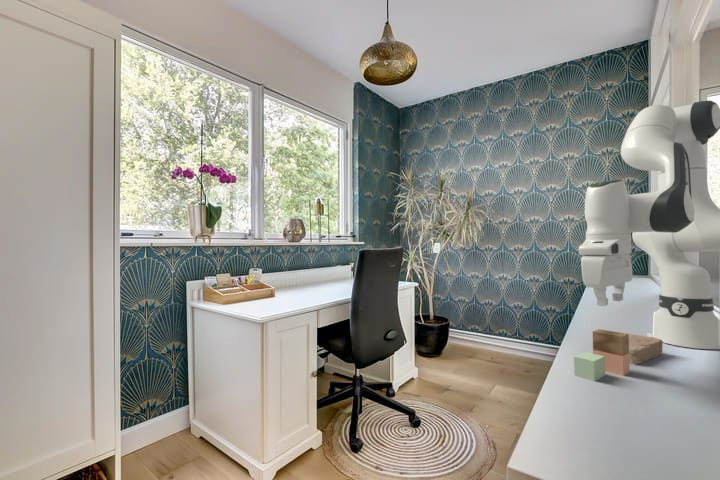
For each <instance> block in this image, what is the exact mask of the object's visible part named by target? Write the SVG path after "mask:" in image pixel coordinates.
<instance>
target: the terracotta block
mask: <svg viewBox="0 0 720 480" xmlns="http://www.w3.org/2000/svg"><path fill="white" fill-rule="evenodd" d="M592 353H593V354H597V355H602V356H605V373H607V372H608V373H610V374H614V375H619V376H623V377H624V376H626V375H627V374H629V373H630V371H631V370H630V369H631V368H630V365H631V364H630V363H629V353H628V354H626V355H624V356H620V355H615V354H610V353H606V352H601V351H596V350H593V349H592Z"/></svg>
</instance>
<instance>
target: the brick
mask: <svg viewBox="0 0 720 480" xmlns="http://www.w3.org/2000/svg"><path fill="white" fill-rule="evenodd" d="M627 334H628V335H629V363H630V365H632V364H634V366H637V365H641V364H642V363H644V362H643V361H645V362H647V361H650V360H651V359H655V358H658V357H659V356H660V355H662V353H663V344H664V342H663V341H662V340H661V339H658V338H654V337H648V336H647V335H646V336H645V335H639V334H632V333H627ZM657 356H658V357H657ZM649 359H650V360H649ZM636 364H637V365H636Z"/></svg>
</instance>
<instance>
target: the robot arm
mask: <svg viewBox="0 0 720 480" xmlns="http://www.w3.org/2000/svg"><path fill="white" fill-rule="evenodd" d="M719 130H720V107H719V105H718V104H717V102H715V101H712V100H702V101H701V100H700V101H695V102H693V103H691V104H686V105H685V104H684V105H680V106H675V107H670V106H668V105H664V104H655V105H650V106H647V107H645V108H643V109H642V110H640V111H638V112H637V114H636V115H635V116H634V118H633V119H632V121H631V122H630V123H628V124H627V126H626V127H624V130H623V131H622V142H621V146H620V155H621V158H622V160H623V162H625V164H627V165H628V166H630V167H631V168H633V169H636V170H640V171H646V172H647V171H649V172H653V171H654V172H656V175H657V176H656V179H657V180H656V181H657V190H655V191H649V192H641V193H633V194H629V193H628V189H627V185H626V182H625V180H623V179H611V180H606V181H599V182H594V183H592V184H590V185H589V186H588V187H587V188H586V191H585V197H584V198H585V199H584V218H585V221H586V230H585V231H586V232H585V240H584V242H583V243H582V244H580V245H579V247H578V254H579V255H580V256H581V259H580V261H581V262H580V264H581V265H580V267H581V275H582V276H581V277H582V282H583V284H584V286H585V287H586V288H590V289H591V288H593V294H594V296H595V298H596V305H597V306H598V307H606V306H608V305H609V298H608V297H607V293H606V292H607V288H608V287H613V293H611V294H612V295H611V297H612V301H614V302H622V301H624V293H625V287H626V283H628V282H632V280H633V274H634V273H633V265H632V258H631V254H632V253H633V251H632V241H633V243H634V245H635V246H636V247H637V248H638V249H640V250H641V251H643V252H645V253H646V254H647V255H648V256H649V257H650V258H651V260H652V261H653V262H654V264H655V266H656V269H657V270H658V275H659V281H660V282H659V283H660V284H659V286H660V294H659V296H658V306H659V308H658V309H657V310H655V311H654V312H653V314H652V315H653V319H652V320H653V321H652V331H651V332H647V333H646V336H647V337H654V338H658V339H661V340H662V341H663V344H669V345H673V346H678V347H683V348H684V347H685V348H691V349H700V350H720V319H719V318H718V316H716V315H715V313H714V311H715V308H714V307H715V304H714V299H713V298H712V296H711V295H712V293H711V288H712V287H711V275H710V273H709V272H708V271H707V269H705V268H704V267H702V266H700V265H698V264H697V263H696V264H695V263H694V262H691V261H690V260H689V259H688V257H686V253H687V252H689V253H692V252H693V253H705V252H706V253H711V252H720V207H719V206H717V204H716V203H715V202H714V201H713V199H712V197H711V195H710V192H709V185H708V177H707V176H708V175H707V161H706V154H705V150H704V147H703V145H706V144H707V143H708V141H709V139H711V138H712V137H714V136H715V135H716V134H718V132H719ZM631 233H632V235H631Z"/></svg>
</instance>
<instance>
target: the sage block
mask: <svg viewBox="0 0 720 480" xmlns="http://www.w3.org/2000/svg"><path fill="white" fill-rule="evenodd" d="M573 365H574V366H573V370H574V377H578V378H581V379H585V380H589V381H592V382H596V381H598V380H599V379H601V378H604V377H605V376H606V371H605V356H602V355H597V354H593V352H589V351H588V352H587V351H584V352H582V353H579V354H577V355H575V356H573Z"/></svg>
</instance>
